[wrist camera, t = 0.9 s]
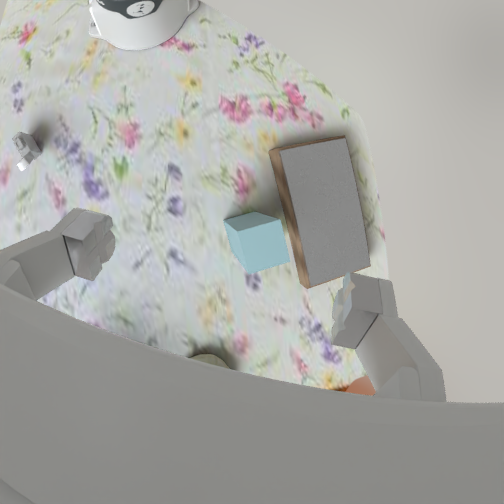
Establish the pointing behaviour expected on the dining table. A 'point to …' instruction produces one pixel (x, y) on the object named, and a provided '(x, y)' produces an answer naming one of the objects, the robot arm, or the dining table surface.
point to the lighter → (26, 149)
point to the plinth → (321, 209)
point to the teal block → (257, 241)
